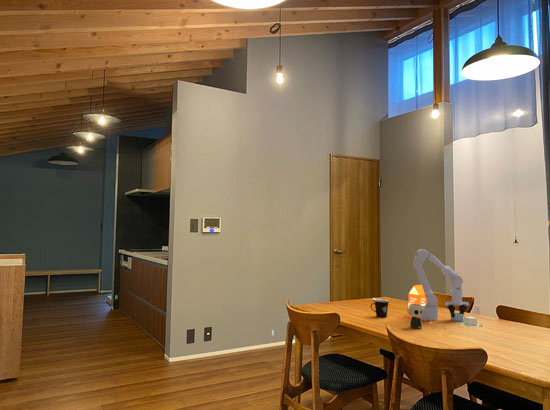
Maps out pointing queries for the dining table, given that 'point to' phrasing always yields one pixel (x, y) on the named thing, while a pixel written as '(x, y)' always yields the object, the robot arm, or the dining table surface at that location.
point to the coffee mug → (381, 308)
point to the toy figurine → (415, 315)
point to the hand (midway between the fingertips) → (457, 317)
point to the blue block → (457, 317)
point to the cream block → (470, 321)
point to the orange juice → (417, 296)
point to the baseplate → (469, 325)
